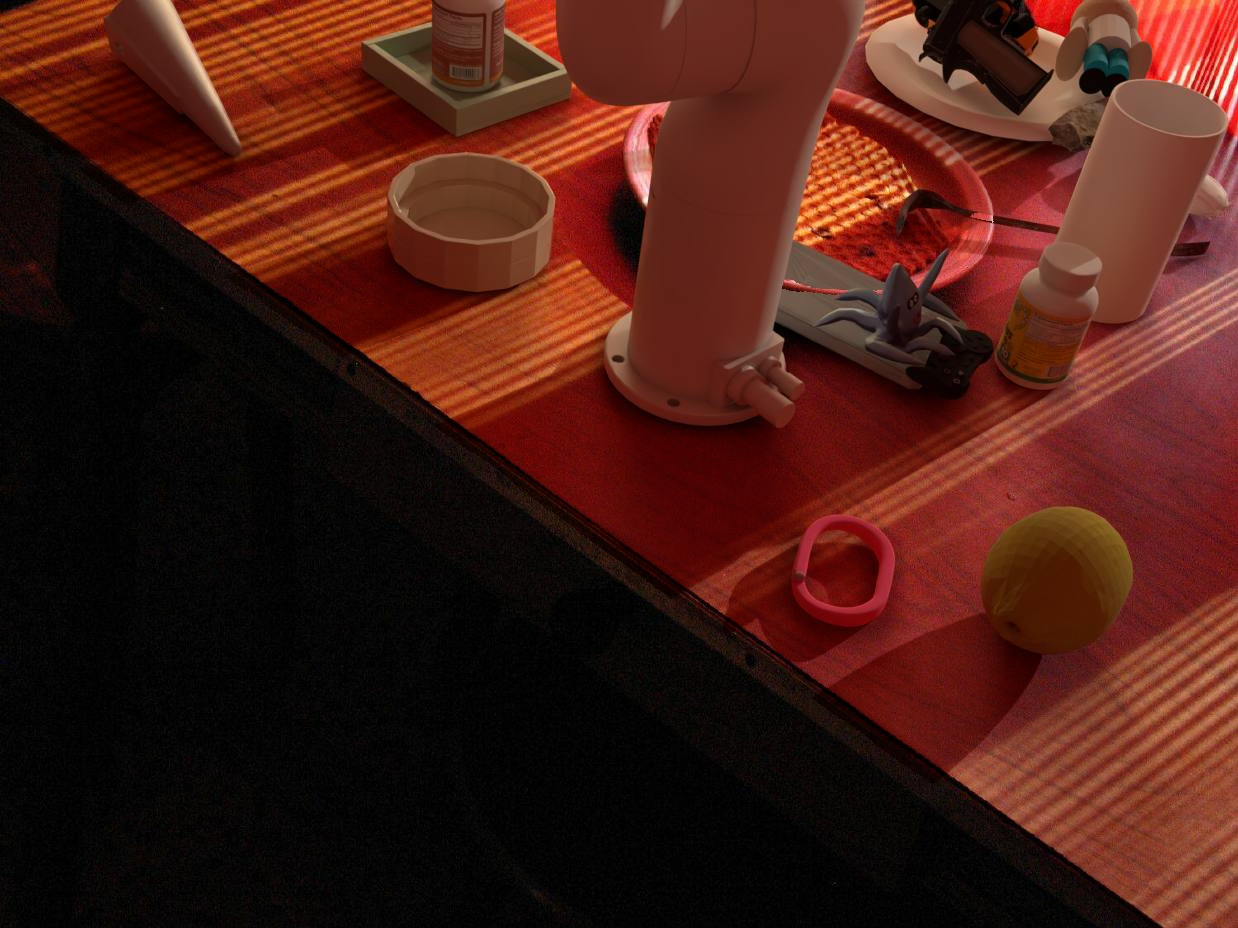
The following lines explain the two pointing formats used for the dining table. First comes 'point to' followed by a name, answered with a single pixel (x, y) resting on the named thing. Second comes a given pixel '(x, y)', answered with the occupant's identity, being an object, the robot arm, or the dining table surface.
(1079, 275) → the supplement bottle
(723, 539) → the dining table surface
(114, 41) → the long tapered cone
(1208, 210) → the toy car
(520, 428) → the dining table surface
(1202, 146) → the cup
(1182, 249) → the crowbar
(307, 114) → the dining table surface
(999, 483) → the dining table surface
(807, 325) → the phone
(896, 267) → the figurine
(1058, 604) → the lemon
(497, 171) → the bowl
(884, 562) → the fitness band
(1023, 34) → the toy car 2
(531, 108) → the tray
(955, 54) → the handgun
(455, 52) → the pill bottle
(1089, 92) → the toy
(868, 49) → the plate
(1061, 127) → the stone
